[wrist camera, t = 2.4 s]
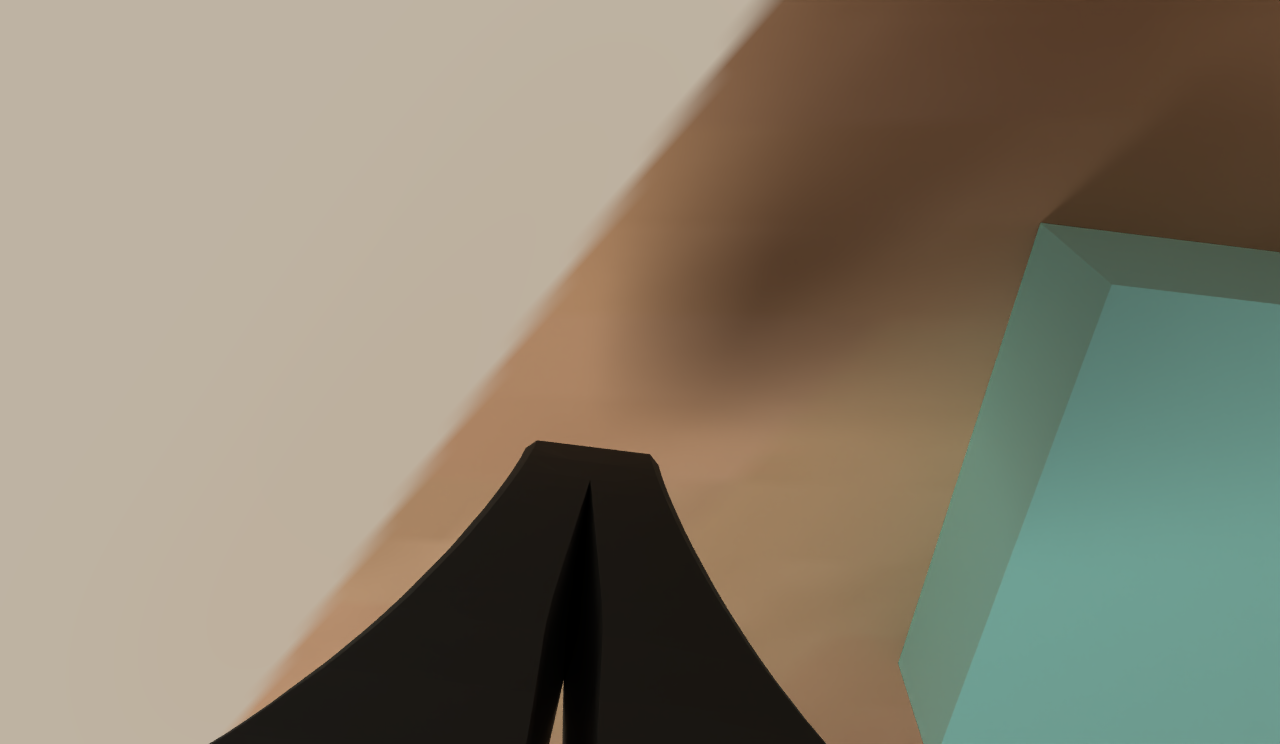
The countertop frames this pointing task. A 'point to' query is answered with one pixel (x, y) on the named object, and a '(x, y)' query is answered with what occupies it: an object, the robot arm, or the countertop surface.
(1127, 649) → the tile
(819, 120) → the countertop surface
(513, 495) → the robot arm
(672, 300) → the countertop surface
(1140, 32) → the countertop surface
